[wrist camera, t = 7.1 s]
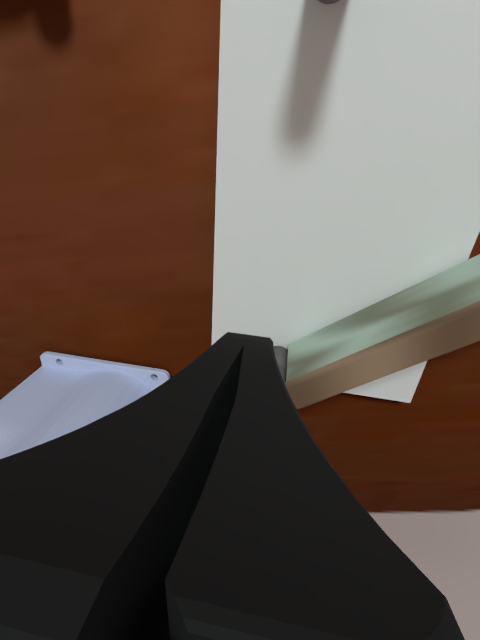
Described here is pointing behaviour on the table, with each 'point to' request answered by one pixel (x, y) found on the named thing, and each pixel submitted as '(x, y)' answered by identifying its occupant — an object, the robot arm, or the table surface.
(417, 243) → the gate board
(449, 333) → the gate
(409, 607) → the robot arm
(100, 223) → the table surface
